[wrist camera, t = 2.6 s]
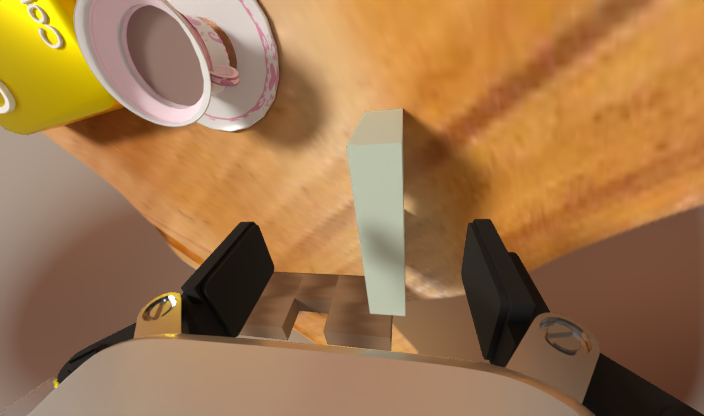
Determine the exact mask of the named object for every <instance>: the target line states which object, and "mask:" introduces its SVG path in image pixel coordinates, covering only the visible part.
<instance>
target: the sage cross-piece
mask: <svg viewBox="0 0 704 416" xmlns="http://www.w3.org/2000/svg"><path fill="white" fill-rule="evenodd" d="M346 148H347V155H348V162H349V169H350V176H351V183H352V190H353V197H354V204H355V211H356V218H357V226H358V233H359V240H360V247H361V254H362V261H363V268H364V275H365V282H366V289H367V296H368V303H369V310H370V314H383V315H396V316H405V209H404V152H403V108H400V109H390V110H379V111H368V112H365V113H364V114H363V116H362V118H361V120H360V122H359V124H358V125H357V127H356V129H355V131H354V133H353V135H352V136H351V138H350V140H349V142H348V144H347V146H346Z"/></svg>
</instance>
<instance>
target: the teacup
mask: <svg viewBox="0 0 704 416" xmlns="http://www.w3.org/2000/svg"><path fill="white" fill-rule="evenodd" d="M199 18H205V19H207V20H209V21H212V22H214V23H215V24H216V25H217V26H219V27H220V28H221V29H222V30H223V31H224V32H225V34H226V35H227V37H228V38H229V40H230V41H231V43H232V46H233V48H234V51H235V54H236V60H237V68H236V69H235V68H233V67H230V61H229V56H228V53H227V50H226V48H225V46H224V44H223V42H222V40H221V39H220V37H219V36H218V34H217V33H216V32H215V31H214V30H213V28H211V27H210V26H209V25H208V24H207V23H206V22H204V21H203V20H201V19H199ZM74 29H75V34H76V39H77V42H78V45H79V48H80V50H81V53H82V55H83V57H84V59H85V61H86V63H87V64H88V66H89V68H90V69H91V71H92V72H93V74H94V75H95V77H96V78H97V79H98V81H99V82H100V83H101V85H102V86H103V87H104V88H105V89H106V90H107V91H108V92H109V93H110V94H111V95H112V96H113V97H114V98H115V99H116V100H117V101H118V102H119V103H121V104H122V105H123V106H124V107H126V108H127V109H129V110H130V111H132V112H133V113H135V114H136V115H138V116H140V117H141V118H143V119H145V120H147V121H150V122H152V123H155V124H158V125H161V126H166V127H184V126H188V125H191V124H193V123H195V122H197V123H199V124H201V125H204V126H206V127H208V128H210V129H214V130H222V131H229V132H232V131H237V130H241V129H245V128H249V127H251V126H252V125H253V124H255V123H256V122H257V121H259V120H260V119H262V118H263V117H264V116H265V115H266V113H267V111H268V110H269V108H270V106H271V105H272V103H273V101H274V100H275V96H276V91H277V86H278V81H279V64H278V51H277V46H276V43H275V40H274V37H273V34H272V31H271V28H270V25H269V22H268V19H267V17H266V15H265V13H264V12H263V10H262V9H261V7H260V5H259V4H258V2H257V0H77V2H76V5H75V10H74Z"/></svg>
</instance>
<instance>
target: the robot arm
mask: <svg viewBox="0 0 704 416" xmlns="http://www.w3.org/2000/svg"><path fill="white" fill-rule="evenodd" d="M273 273H274V264H273V262H272V259H271V257H270V254H269V251H268V249H267V246H266V244H265V241H264V238H263V236H262V233H261V231H260V228H259V226H258V225H256V224H255V223H254V222H240V223H239V224H238V225H237V226H236V228H235V229H234V230H233V231H232V232H231V233H230V234H229V235H228V236H227V237H226V239H225V240H224V241H223V242H222V243H221V244H220V245H219V246H218V247H217V248H216V250H215V251H214V252H213V253H212V254H211V255H210V256H209V257H208V258H207V259H206V261H205V262H204V263H203V264H202V265H201V266H200V267H199V268H198V269H197V270H196V272H195V273H194V274H193V275H192V276H191V277H190V278H189V279H188V280H187V282H186V283H185V284H184V285H183V286H182V287H181V289H182V290H183V294H182V295H179V294H178V293H174V292H172V293H166V294H164V295H161V296H159V297H157V298H155V299H153V300H152V301H151V302H149V303H148V304H147V305H146V306H145V307H144V308H143V309H142V310H141V311H140V313H139V315H138V318H137V322H136V323H134V324H132V325H130V326H128V327H126V328H124V329H122V330H120V331H118V332H116V333H114V334H112V335H110V336H108V337H106V338H104V339H102V340H100V341H98V342H96V343H94V344H92V345H90V346H88V347H87V348H85V349H83V350H82V351H80V352H78V353H76V354H75V355H74V356H73V357H72V358H71V359H70V360H69V361H68V362H67V363H66V364H65V365H64V367H63V368H62V369H61V370H60V372H59V374H58V377H57V379H55V378H53V377H52V378H50V379H49V380H47V381H46V382H44V383H43V384H41V385H40V386H39V387H37V388H35V389H34V390H32V391H31V392H29V393H28V394H26V395H25V396H23V397H22V398H21V399H19V400H17V401H16V402H14V403H13V404H11V405H10V406H8V407H7V408H5V409H4V410H2V411H1V412H0V416H704V415H703V414H701V413H700V412H698V411H696V410H695V409H693V408H691V407H690V406H688V405H686V404H685V403H683V402H681V401H680V400H678V399H676V398H675V397H673V396H671V395H669V394H668V393H666V392H664V391H663V390H661V389H660V388H658V387H656V386H654V385H653V384H651V383H650V382H648V381H646V380H645V379H643V378H641V377H640V376H638V375H636V374H634V373H633V372H631V371H630V370H628V369H626V368H625V367H623V366H621V365H619V364H618V363H616V362H615V361H612V360H611V359H610V358H608V357H606V356H604V355H603V354H601V353H600V347H599V344H598V342H597V339H596V338H595V337H594V335H593V334H592V333H591V331H589V330H588V329H587V328H586V327H585V326H584V325H582V324H581V323H579V322H577V321H576V320H574V319H572V318H570V317H567V316H565V315H562V314H558V313H550V311H549V309H548V307H547V306H546V304H545V302H544V300H543V299H542V297H541V295H540V293H539V291H538V290H537V288H536V287H535V285H534V283H533V281H532V279H531V277H530V276H529V274H528V272H527V270H526V269H525V267H524V265H523V263H522V262H521V260H520V258H519V256H518V255H517V254H516V253H514V252H508V251H507V250H506V248H505V246H504V244H503V242H502V240H501V238H500V236H499V234H498V233H497V231H496V229H495V227H494V225H493V223H492V221H491V220H490V219H474V221H473V223H469V224H468V228H467V235H466V242H465V249H464V257H463V264H462V271H461V274H462V281H463V284H464V288H465V292H466V296H467V299H468V303H469V307H470V310H471V314H472V318H473V321H474V325H475V329H476V333H477V336H478V340H479V344H480V347H481V351H482V355H483V357H484V359H485V360H489V361H490V364H487V363H482V362H476V361H469V360H462V359H455V358H446V357H437V356H428V355H420V354H411V353H400V352H390V351H379V350H369V349H358V348H348V347H337V346H326V345H315V344H304V343H293V342H281V341H270V340H258V339H245V338H235V337H237V336H238V335H239V334H240V332H241V330H242V328H243V327H244V325H245V323H246V321H247V319H248V318H249V316H250V314H251V312H252V310H253V309H254V307H255V305H256V303H257V302H258V300H259V298H260V296H261V294H262V293H263V291H264V289H265V287H266V285H267V284H268V282H269V280H270V278H271V276H272V275H273Z"/></svg>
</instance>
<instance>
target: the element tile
mask: <svg viewBox="0 0 704 416" xmlns="http://www.w3.org/2000/svg"><path fill="white" fill-rule="evenodd" d="M76 2H77V0H0V125H1V126H2V127H3V128H5V129H6V130H8V131H12V132H14V133H18V134H22V135H29V134H33V133H37V132H41V131H45V130H49V129H53V128H56V127H60V126H64V125H68V124H72V123H75V122H78V121H82V120H85V119H88V118H92V117H95V116H98V115H101V114H105V113H108V112H111V111H115V110H118V109H121V108H124V106H123V105H122V104H121V103H119V102H118V101H117V100H116V99H115V98H114V97H113V96H112V95H111V94H110V93H109V92H108V91H107V90H106V89H105V88H104V87H103V86H102V85H101V83H100V82H99V81H98V79H97V78H96V77H95V75H94V74H93V72H92V71H91V69H90V68H89V66H88V64H87V63H86V61H85V59H84V57H83V55H82V53H81V50H80V48H79V45H78V42H77V39H76V34H75V29H74V10H75V5H76Z"/></svg>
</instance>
